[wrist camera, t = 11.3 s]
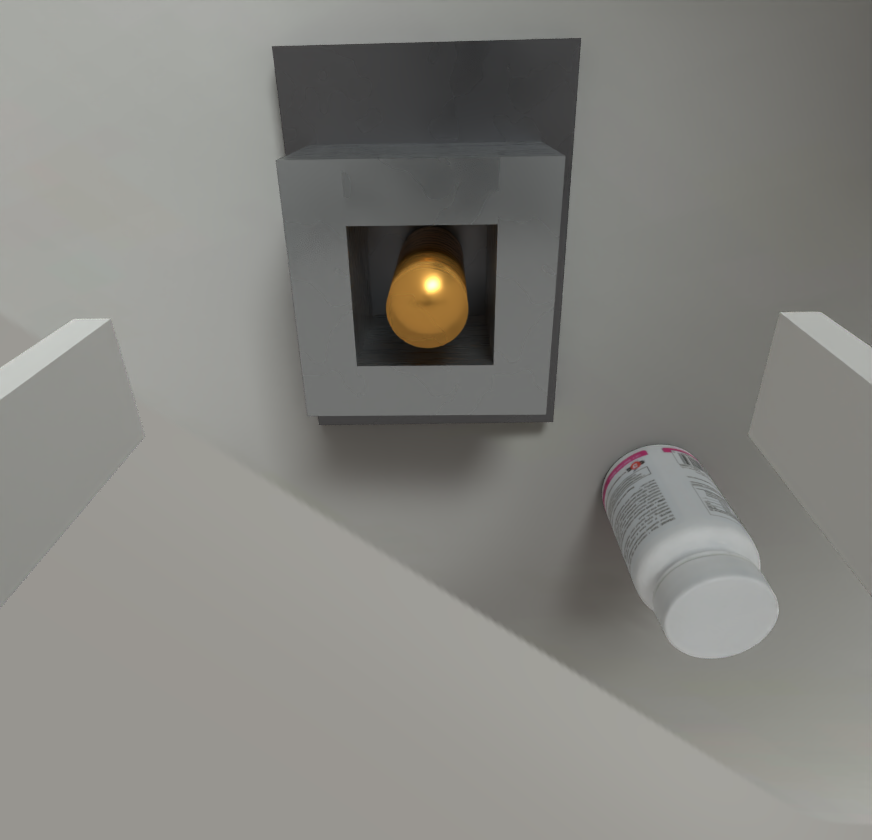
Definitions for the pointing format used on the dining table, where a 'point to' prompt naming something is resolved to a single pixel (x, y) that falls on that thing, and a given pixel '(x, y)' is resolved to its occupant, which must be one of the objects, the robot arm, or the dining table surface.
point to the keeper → (434, 123)
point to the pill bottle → (688, 553)
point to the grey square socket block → (422, 205)
